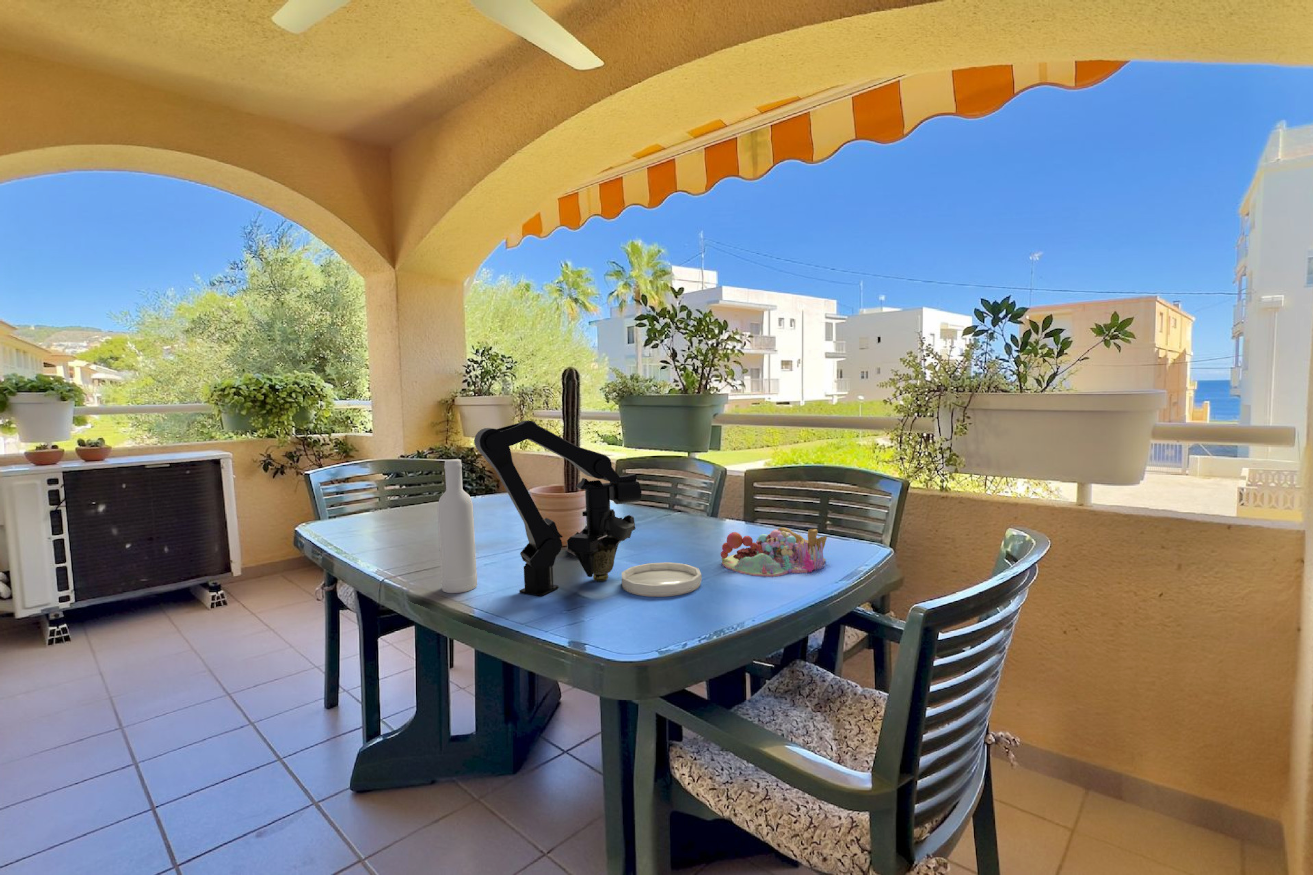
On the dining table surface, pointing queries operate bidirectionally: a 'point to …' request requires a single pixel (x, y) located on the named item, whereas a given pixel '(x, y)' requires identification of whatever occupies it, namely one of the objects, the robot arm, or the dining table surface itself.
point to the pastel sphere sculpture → (774, 553)
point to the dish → (661, 579)
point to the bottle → (456, 533)
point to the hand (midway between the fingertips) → (600, 571)
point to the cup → (603, 562)
